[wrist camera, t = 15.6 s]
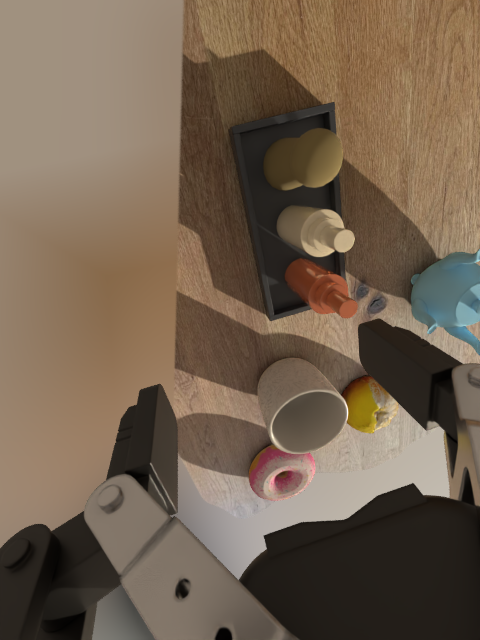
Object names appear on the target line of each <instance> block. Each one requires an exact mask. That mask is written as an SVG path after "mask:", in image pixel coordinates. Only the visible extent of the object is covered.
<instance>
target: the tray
mask: <svg viewBox="0 0 480 640" xmlns="http://www.w3.org/2000/svg"><path fill="white" fill-rule="evenodd" d="M316 128H323V129H328V130H330V131H332V132H333V133H335V134H336V120H335V102H332V103H328V104H323V105H319V106H315V107H311V108H307V109H302V110H298V111H294V112H290V113H286V114H282V115H277V116H273V117H269V118H265V119H261V120H256V121H252V122H248V123H244V124H240V125H235V126H232V127H231V128H230V129H229V135H230V140H231V145H232V150H233V154H234V159H235V164H236V169H237V174H238V179H239V184H240V189H241V194H242V199H243V203H244V208H245V213H246V218H247V223H248V228H249V233H250V238H251V243H252V248H253V253H254V257H255V262H256V267H257V272H258V277H259V282H260V287H261V292H262V297H263V302H264V306H265V311H266V316H267V317H268V318H269V320H270V321H273V320H276V319H279V318H283V317H286V316H290V315H293V314H297V313H300V312H303V311H307V310H310V309H312V308H311V307H309V306H308V305H307V304H306V303H305V302H304V301H303V300H302V299H301V298H300V297H299V296H297V295H296V294H295V293H294V292H293V291H292V290H291V289H290V288H289V287H288V286H287V284H286V282H285V272H286V270H287V268H288V266H289V265H290V264H291V263H292V262H293V261H295V260H297V259H299V258H308V259H310V260H312V261H314V262H316V263H317V264H319V265H321V266H323V267H325V268H326V269H328V270H330V271H332V272H334V273H335V274H337V275H339V276H341V277H342V278H343V279H344V280H345V281H346V277H345V261H344V252H338V251H336V250H335V251H334V252H332V253H331V254H329V255H327V256H323V257H314V256H312V255H309V254H308V253H306V252H304V251H302V250H300V249H298V248H296V247H294V246H292V245H290V244H288V243H286V242H285V241H283V240H282V239H281V238H280V236H279V235H278V232H277V220H278V217H279V215H280V214H281V212H282V211H283V210H284V209H285V208H287V207H289V206H291V205H303V206H309V207H316V208H322V209H328V210H332V211H334V212H336V213H337V214H338V215H339V216H340V217H341V219H342V214H341V198H340V183H339V172H338V174H337V175H336V176H335V177H334V178H333V180H332V181H330V182H328V183H327V184H325V185H324V186H320V187H316V188H313V187H306V186H304V185H302V186H299V187H297V188H294V189H291V190H287V191H282V190H278V189H276V188H274V187H272V186H271V185H270V184H269V182H268V181H267V179H266V177H265V175H264V169H263V162H264V157H265V154H266V152H267V150H268V148H269V147H270V146H271V145H272V143H274V142H275V141H277V140H279V139H282V138H300V136H301V135H303V134H304V133H306V132H307V131H309V130H312V129H316Z"/></svg>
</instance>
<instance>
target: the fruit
mask: <svg viewBox="0 0 480 640" xmlns="http://www.w3.org/2000/svg"><path fill="white" fill-rule="evenodd" d="M341 396H342V397H343V398H344V400H345V402H346V404H347V407H348V418H347V423H348V424H349V425H350V426H351V427H353V428H355V429H357V430H359V431H361V432H364V433H374V431H375V430H378V429H380V428H382V427H386V426H388V425H389V424H390V422H391V418H392V417H394V416H396V414H397V412H398V402H397V401H396V400H395V399H394V398H393V397H392V396H391V395H390V394H389V393H388V392H387V391H386V390H385V389H384V388H383V387H382V386H380V385H379V384H378V383H377V382H376V381H375V380H374V379H373V378H372V377H371V376H366V375H365V376H363V377H361V378H358V379H356V380H353V382H351V383H350V384H349V385H348V387H346V388H345V390H344V391H343V393H342V394H341Z"/></svg>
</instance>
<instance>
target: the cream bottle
mask: <svg viewBox="0 0 480 640" xmlns="http://www.w3.org/2000/svg"><path fill="white" fill-rule="evenodd" d="M277 232H278V235H279V236H280V238H281V239H282V240H283V241H285V242H286V243H288V244H290V245H292V246H294V247H296V248H298V249H300V250H302V251H304V252H306V253H308V254H309V255H312V256H314V257H323V256H327V255H329V254H331V253H332V252H334V251H335V250H336V251H338V252H346V251H348V250H349V249H350V248H351V247H352V246H353V244H354V239H355V238H354V234H353V233H352V231H350V230H347V229H344V225H343V221H342V219H341V217H340V216H339V215H338V214H337V213H336V212H334V211H332V210H328V209H322V208H316V207H309V206H303V205H291V206H289V207H287V208H285V209H284V210H283V211H282V212H281V214H280V215H279V217H278V220H277Z"/></svg>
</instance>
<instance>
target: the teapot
mask: <svg viewBox="0 0 480 640" xmlns="http://www.w3.org/2000/svg"><path fill="white" fill-rule="evenodd" d="M478 261H480V249H479V250H478V251H477V252H476V253H475V254H469V253H465V252H455V253H452V254H449V255H448V256H446V257H445V258H444V259H442V260H440V261H438V262H436V263H434V264H432V265H431V266H429V267H428V268H427V269H425V270H424V271H423V272H422V273H421V274H415V275H414V276H413V277H412V279H411V283H412V284H413V285H414V286H413V289H412V293H411V306H412V314H413V316H414V318H415V319H416V320H418V321H419V322H421V323H424V324H426V325H427V326H428V332H427V333H428V334H431V333H432V332H433V331H434V330H435V329H436V327H444V329H445V330H446V331H447V332H448V333H449V334H451V335H452V336H454V337H456V338H458V339H461V340H463V341H465V342H467V343H469V344H470V345H471V346H472V347H473V348H474V349H475V351H476V352H477V354H478V355H480V341H479V340H478V339H477V338H476V337H475V336H474V335H473V334H472V333H471V332H469V330H468V329H467V328H466V326H467V325H472V324H474V323H477V322H478V321H480V266H479V265H478V264H476V262H478Z"/></svg>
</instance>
